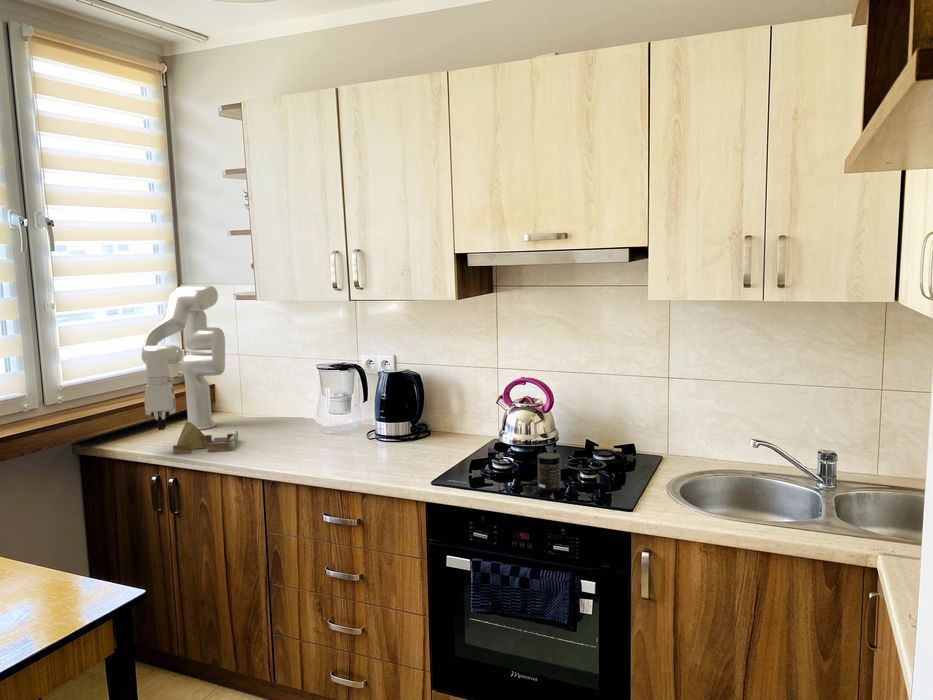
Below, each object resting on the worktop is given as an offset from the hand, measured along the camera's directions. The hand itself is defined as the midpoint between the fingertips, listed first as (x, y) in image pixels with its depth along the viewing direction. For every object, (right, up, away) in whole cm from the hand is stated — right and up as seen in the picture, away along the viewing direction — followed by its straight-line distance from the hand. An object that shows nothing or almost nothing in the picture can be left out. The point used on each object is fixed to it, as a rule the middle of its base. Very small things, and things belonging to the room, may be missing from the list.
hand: (161, 429), depth 266 cm
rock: (+11, -8, +3) cm, 14 cm away
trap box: (+15, -7, +7) cm, 18 cm away
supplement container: (+139, -12, -52) cm, 149 cm away
